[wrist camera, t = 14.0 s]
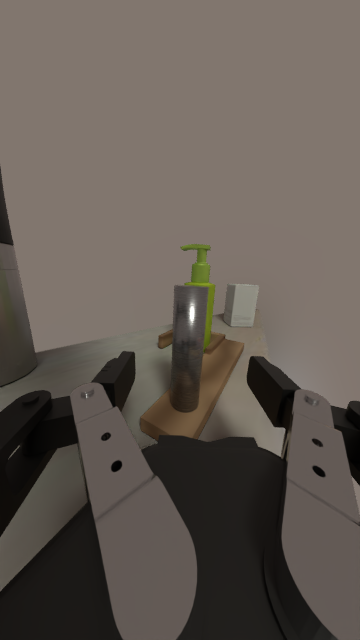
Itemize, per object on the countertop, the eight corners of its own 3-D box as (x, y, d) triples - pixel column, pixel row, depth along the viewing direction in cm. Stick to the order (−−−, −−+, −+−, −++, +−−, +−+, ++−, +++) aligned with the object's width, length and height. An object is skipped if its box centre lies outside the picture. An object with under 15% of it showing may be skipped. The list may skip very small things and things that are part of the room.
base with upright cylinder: (79, 391, 21) (64, 279, 17) (180, 335, 42) (182, 279, 38) (187, 459, 14) (199, 291, 10) (243, 350, 35) (253, 283, 31)
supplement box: (253, 327, 52) (260, 285, 48) (229, 326, 51) (235, 284, 48) (243, 321, 59) (248, 284, 55) (222, 320, 58) (226, 283, 55)
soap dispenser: (180, 339, 39) (184, 247, 34) (210, 343, 38) (219, 247, 33) (173, 349, 34) (177, 242, 29) (207, 354, 32) (218, 241, 27)
